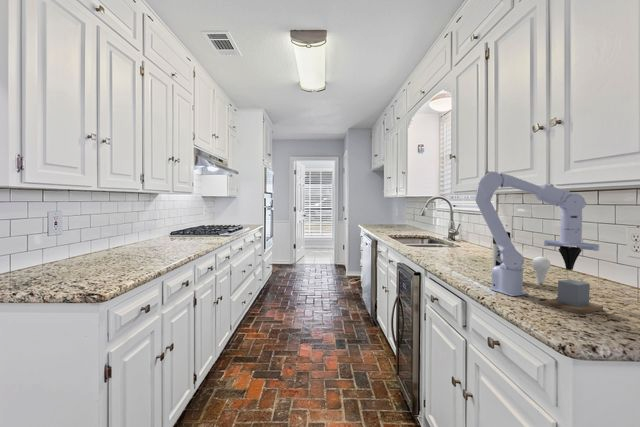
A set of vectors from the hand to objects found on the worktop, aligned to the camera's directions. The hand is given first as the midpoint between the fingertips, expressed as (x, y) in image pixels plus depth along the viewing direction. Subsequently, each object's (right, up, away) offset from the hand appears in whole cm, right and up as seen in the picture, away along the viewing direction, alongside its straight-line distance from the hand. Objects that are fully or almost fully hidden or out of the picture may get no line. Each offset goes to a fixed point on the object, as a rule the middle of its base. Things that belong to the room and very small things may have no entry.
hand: (569, 269), depth 106 cm
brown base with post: (-5, -10, -8) cm, 14 cm away
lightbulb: (+4, -9, +19) cm, 21 cm away
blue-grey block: (-5, -9, -8) cm, 13 cm away
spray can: (-7, -9, +28) cm, 30 cm away
